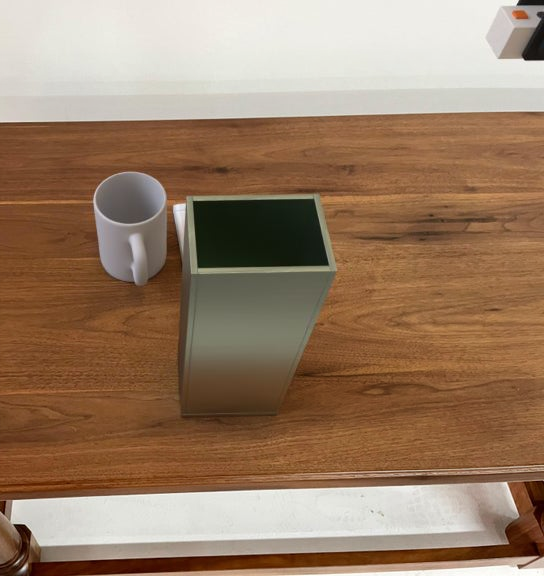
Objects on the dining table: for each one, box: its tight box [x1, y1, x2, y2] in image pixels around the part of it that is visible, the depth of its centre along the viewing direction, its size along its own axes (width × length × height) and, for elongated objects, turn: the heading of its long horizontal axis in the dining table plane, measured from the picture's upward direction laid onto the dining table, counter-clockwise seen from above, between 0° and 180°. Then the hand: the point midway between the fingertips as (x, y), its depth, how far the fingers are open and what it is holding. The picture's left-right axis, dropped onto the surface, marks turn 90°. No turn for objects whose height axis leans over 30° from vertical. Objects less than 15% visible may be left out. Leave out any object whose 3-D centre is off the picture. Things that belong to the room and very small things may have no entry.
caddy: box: [177, 193, 338, 418], centre depth 56 cm, size 10×8×27 cm
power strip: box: [485, 5, 544, 60], centre depth 55 cm, size 4×7×4 cm, turn 91°
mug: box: [93, 171, 168, 287], centre depth 72 cm, size 12×8×11 cm
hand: (530, 43), depth 56 cm, fingers closed on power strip, 3 cm apart
